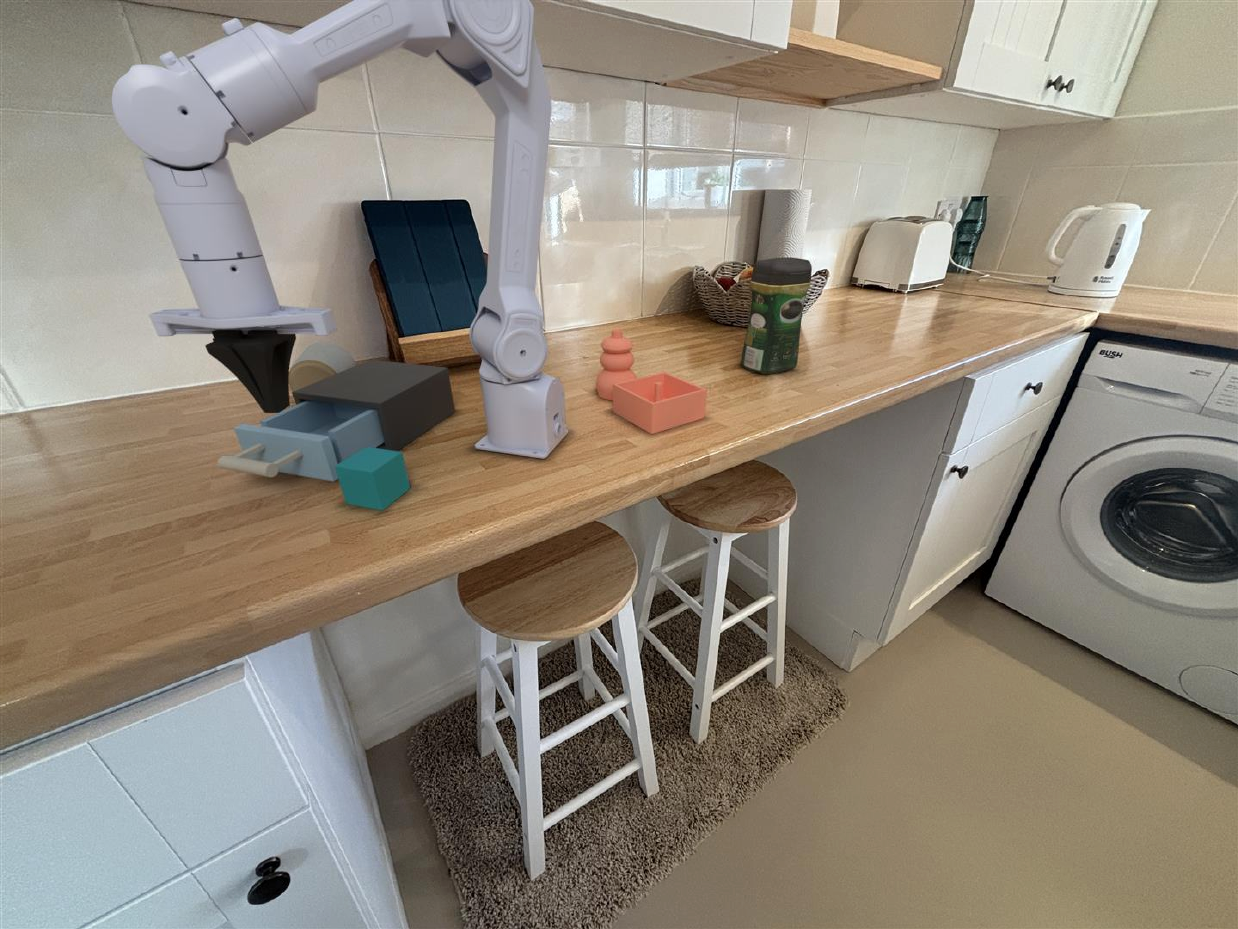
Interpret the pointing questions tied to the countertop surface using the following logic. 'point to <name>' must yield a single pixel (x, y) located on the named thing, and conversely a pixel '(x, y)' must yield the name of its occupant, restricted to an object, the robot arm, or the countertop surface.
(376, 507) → the teal toy cube
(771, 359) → the coffee jar
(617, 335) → the pink peg stacking toy
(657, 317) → the countertop surface
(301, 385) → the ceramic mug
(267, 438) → the drawer
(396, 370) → the dark grey drawer cabinet
